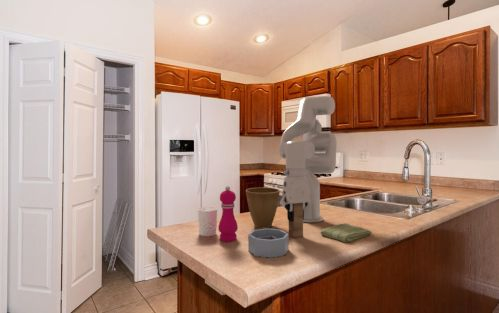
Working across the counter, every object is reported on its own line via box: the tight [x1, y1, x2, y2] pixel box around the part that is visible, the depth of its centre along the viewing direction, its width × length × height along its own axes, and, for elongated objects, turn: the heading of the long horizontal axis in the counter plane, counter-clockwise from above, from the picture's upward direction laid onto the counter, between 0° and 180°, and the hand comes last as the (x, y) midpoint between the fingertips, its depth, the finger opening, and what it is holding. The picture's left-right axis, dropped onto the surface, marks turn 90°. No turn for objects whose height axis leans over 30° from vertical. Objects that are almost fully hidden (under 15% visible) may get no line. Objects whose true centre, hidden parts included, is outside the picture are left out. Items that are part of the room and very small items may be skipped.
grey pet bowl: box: [247, 228, 290, 259], centre depth 94 cm, size 12×12×6 cm
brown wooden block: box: [288, 203, 304, 239], centre depth 110 cm, size 4×4×15 cm
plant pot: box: [245, 186, 281, 229], centre depth 124 cm, size 15×15×16 cm
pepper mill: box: [218, 185, 239, 243], centre depth 106 cm, size 7×7×20 cm
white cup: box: [197, 206, 218, 237], centre depth 113 cm, size 8×8×10 cm
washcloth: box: [320, 223, 373, 244], centre depth 111 cm, size 13×18×3 cm
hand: (295, 219), depth 110 cm, fingers closed on brown wooden block, 4 cm apart
